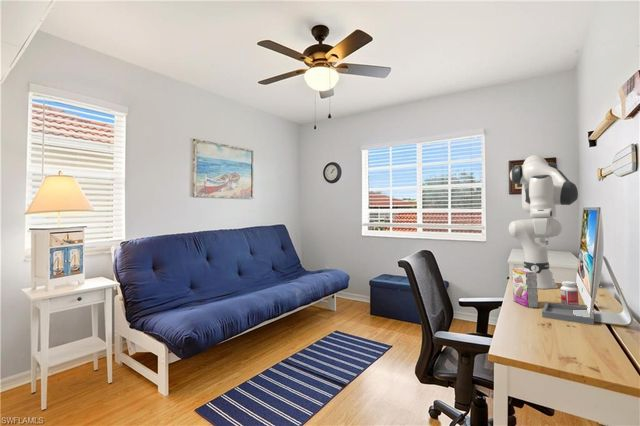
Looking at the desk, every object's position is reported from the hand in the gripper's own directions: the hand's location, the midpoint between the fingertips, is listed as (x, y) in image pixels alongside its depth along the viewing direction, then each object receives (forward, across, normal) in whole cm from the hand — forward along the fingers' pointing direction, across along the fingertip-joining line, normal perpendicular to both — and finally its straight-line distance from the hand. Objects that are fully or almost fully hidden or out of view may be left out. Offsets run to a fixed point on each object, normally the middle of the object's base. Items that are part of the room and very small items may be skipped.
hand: (544, 245), depth 128 cm
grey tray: (+30, -5, +6) cm, 31 cm away
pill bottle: (+30, -20, +6) cm, 36 cm away
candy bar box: (+30, -13, -10) cm, 34 cm away
